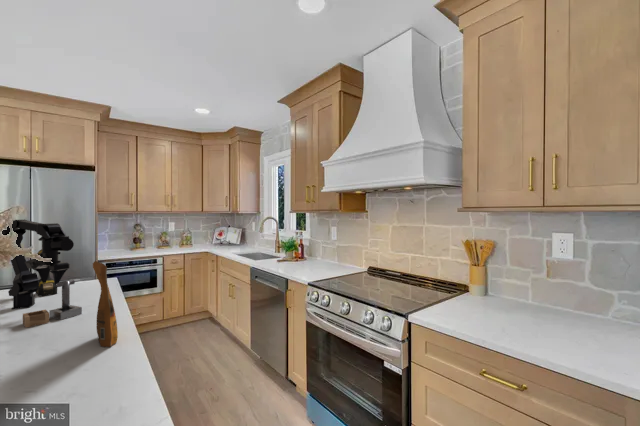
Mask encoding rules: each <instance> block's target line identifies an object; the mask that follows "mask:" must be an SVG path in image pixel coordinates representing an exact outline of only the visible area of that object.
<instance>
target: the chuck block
mask: <svg viewBox="0 0 640 426" xmlns="http://www.w3.org/2000/svg"><path fill="white" fill-rule="evenodd" d="M82 311H83V310H82V306H76V305H71V304H70V309H69V310H65V311H62V306H61V307H57V308H54V309H50V310H49V311H48V312H49V319H50V318H51V319H55V320H58V321H59V320H60V321H62V320H65V319H69V318H73V317H76V316H79V315H83V314H82V313H83V312H82Z"/></svg>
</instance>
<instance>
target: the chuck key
mask: <svg viewBox="0 0 640 426" xmlns="http://www.w3.org/2000/svg"><path fill="white" fill-rule="evenodd" d="M75 283H76V281H75V280H73V279H72V280H64V281H61V282H59V283H57V284H56V286H57V288H60V287H61V307H62V311H65V310H69V309H70V305H71V304H70V302H71V299H70V298H71V297H70V296H71V295H70V294H71V290H70V289H71V287H70V286H71V285H75Z"/></svg>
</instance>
